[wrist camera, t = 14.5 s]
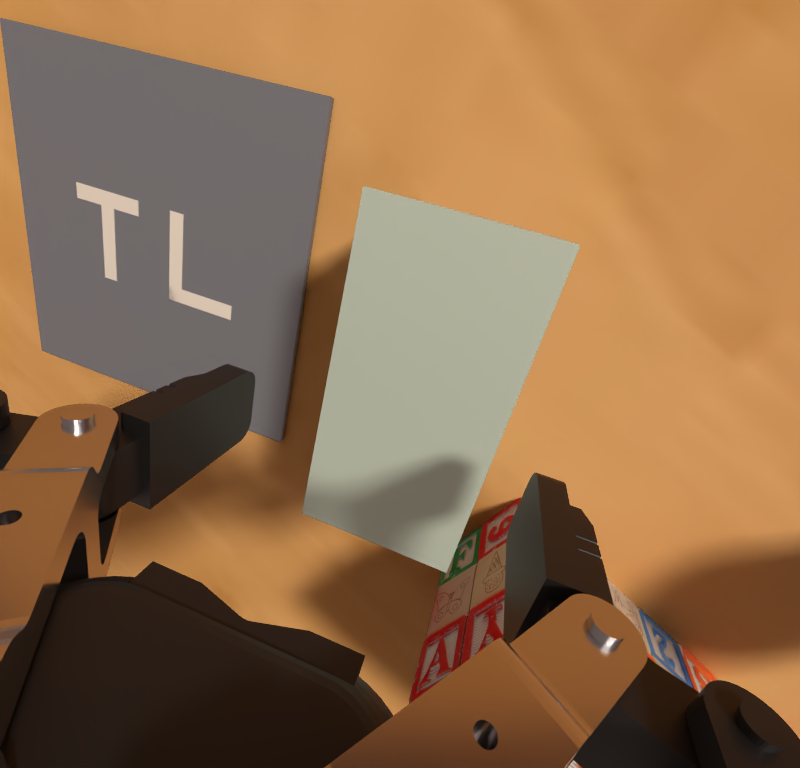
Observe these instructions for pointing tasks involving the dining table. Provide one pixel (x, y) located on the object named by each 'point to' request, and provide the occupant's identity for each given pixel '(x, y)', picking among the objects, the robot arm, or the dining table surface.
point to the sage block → (427, 369)
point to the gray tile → (165, 211)
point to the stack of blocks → (484, 613)
